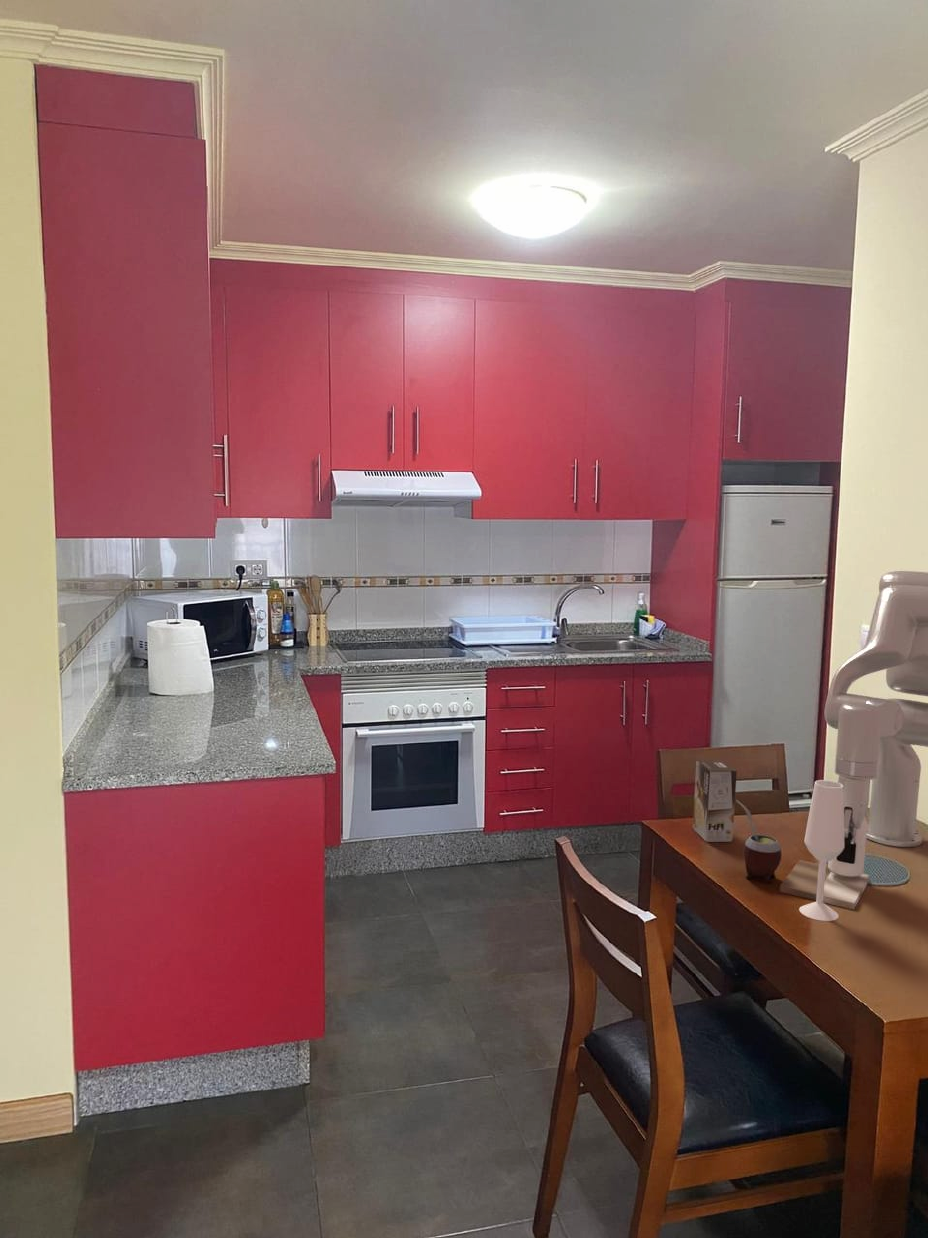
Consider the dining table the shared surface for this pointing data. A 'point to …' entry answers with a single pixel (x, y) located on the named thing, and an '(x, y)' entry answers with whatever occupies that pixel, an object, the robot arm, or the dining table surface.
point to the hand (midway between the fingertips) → (848, 855)
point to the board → (835, 888)
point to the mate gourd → (761, 854)
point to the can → (858, 866)
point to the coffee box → (714, 800)
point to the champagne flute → (824, 839)
